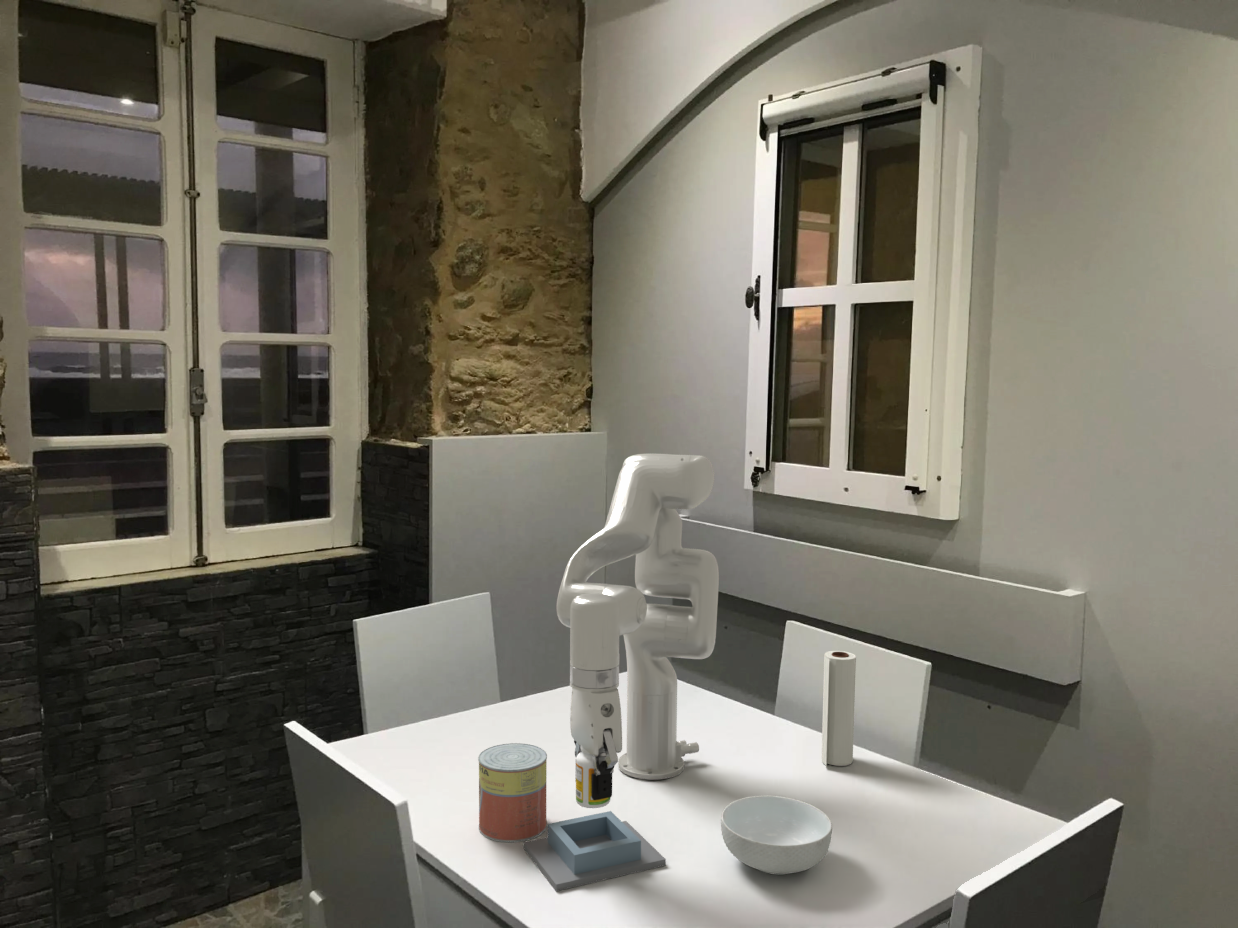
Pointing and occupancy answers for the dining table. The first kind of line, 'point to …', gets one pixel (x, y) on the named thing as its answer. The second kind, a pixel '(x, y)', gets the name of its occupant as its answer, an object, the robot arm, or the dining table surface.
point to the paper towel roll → (838, 708)
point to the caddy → (591, 851)
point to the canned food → (512, 792)
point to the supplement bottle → (587, 780)
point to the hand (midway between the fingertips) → (593, 788)
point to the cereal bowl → (776, 833)
